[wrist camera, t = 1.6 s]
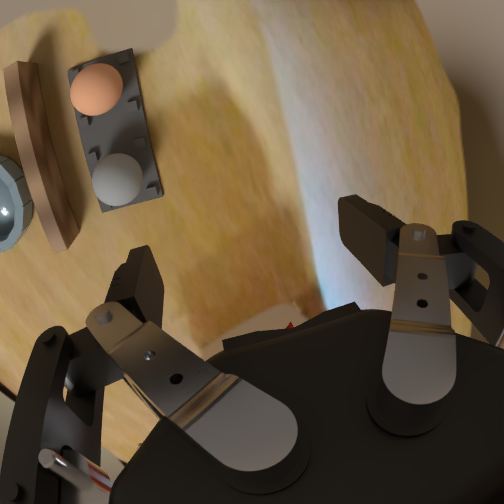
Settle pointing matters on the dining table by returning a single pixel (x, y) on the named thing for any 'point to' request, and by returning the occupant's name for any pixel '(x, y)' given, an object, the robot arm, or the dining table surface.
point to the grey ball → (117, 179)
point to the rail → (39, 155)
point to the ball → (96, 89)
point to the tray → (120, 128)
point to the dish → (13, 203)
